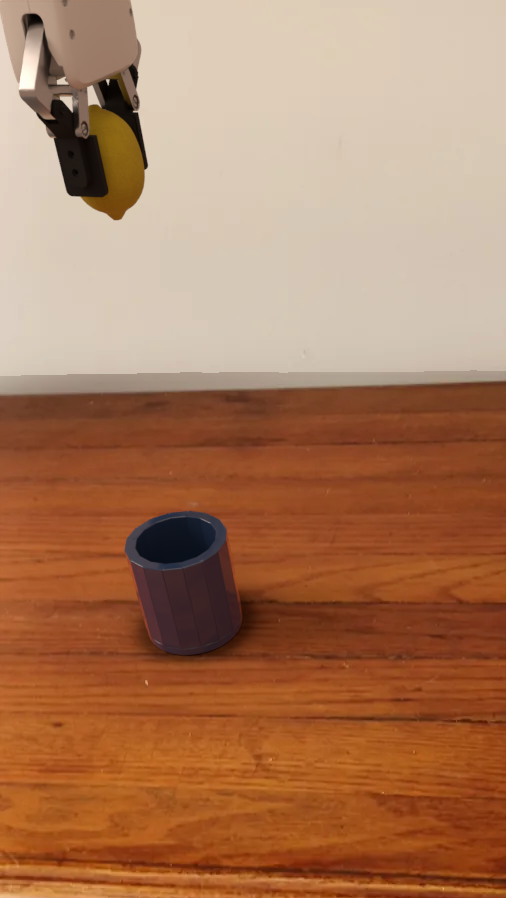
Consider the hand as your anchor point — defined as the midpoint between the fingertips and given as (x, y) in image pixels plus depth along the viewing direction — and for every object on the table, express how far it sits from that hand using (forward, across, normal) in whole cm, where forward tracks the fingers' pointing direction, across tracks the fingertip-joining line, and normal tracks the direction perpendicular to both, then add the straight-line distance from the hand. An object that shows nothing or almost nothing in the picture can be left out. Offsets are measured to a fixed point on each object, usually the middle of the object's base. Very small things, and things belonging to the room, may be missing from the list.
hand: (108, 179), depth 72 cm
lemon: (+3, 0, 0) cm, 3 cm away
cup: (+21, +24, +14) cm, 35 cm away
